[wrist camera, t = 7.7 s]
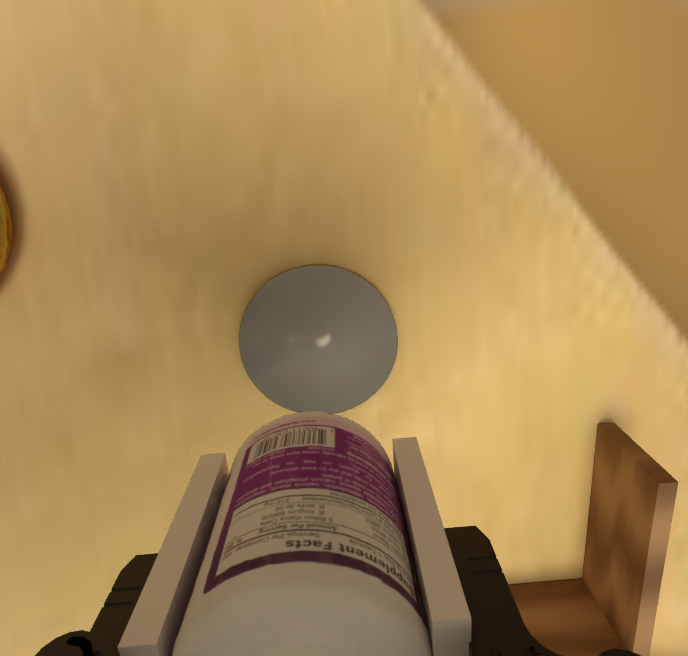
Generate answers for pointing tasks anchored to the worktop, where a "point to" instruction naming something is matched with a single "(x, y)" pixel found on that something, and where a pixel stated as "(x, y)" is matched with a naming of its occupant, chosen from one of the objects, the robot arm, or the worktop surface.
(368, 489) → the pill bottle
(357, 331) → the coaster
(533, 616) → the wooden u-shaped frame
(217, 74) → the worktop surface
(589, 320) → the worktop surface
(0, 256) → the decorated donut
